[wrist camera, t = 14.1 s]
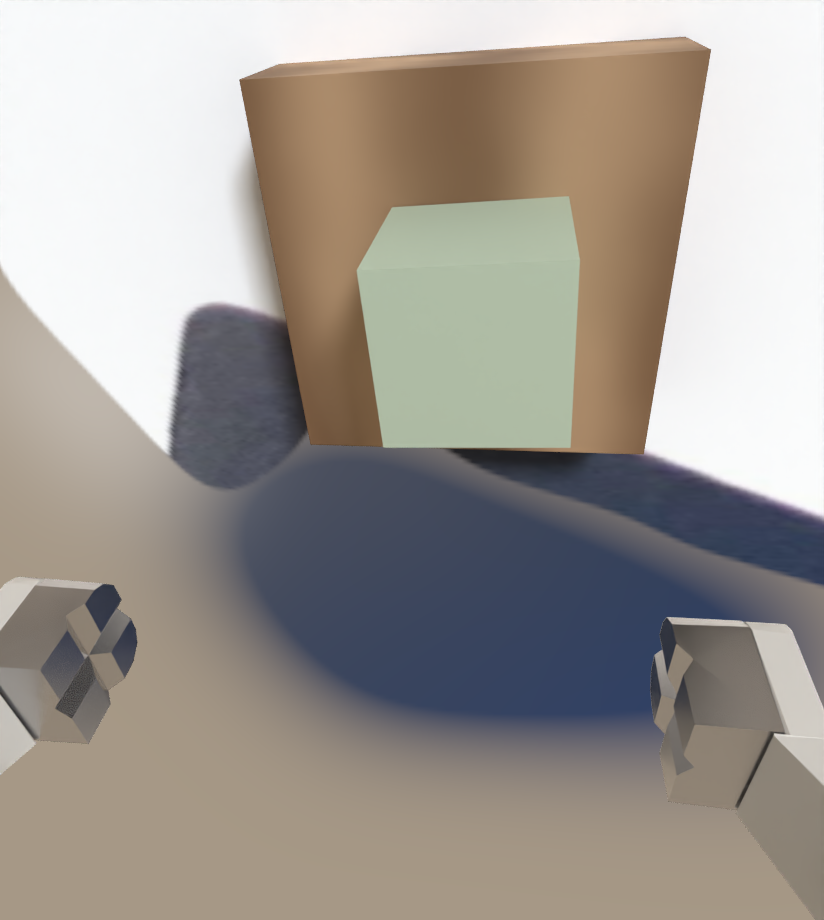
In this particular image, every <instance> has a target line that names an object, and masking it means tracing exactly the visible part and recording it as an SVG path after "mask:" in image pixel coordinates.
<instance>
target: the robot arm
mask: <svg viewBox="0 0 824 920" xmlns="http://www.w3.org/2000/svg"><path fill="white" fill-rule="evenodd" d="M120 602H121V598H120V596H119V594H118V592H117V591H116V589H115V587H114V585H109V584H100V583H89V582H78V581H66V580H56V579H43V578H29V577H16V578H14V579H12V580H11V581H9V582H7V583H5V585H4V586H3V587H2V588H1V590H0V775H1V774H2V773H3V772H4V771H5V770H6V769H7V768H9V767H10V766H11V765H12V764H13V763H14V762H16V761H17V760H18V759H19V758H20V757H21V756H23V755H24V754H25V753H26V752H27V751H28V750H30V749H31V748H32V747H33V746H34V745H35V744H36V741H35V740H38V741H39V740H40V741H53V742H67V743H82V744H89V742H90V740H91V738H92V737H93V735H94V733H95V731H96V729H97V728H98V726H99V724H100V722H101V720H102V718H103V717H104V715H105V713H106V711H107V709H108V708H109V706H110V697H109V691H108V690H109V689H111V688H112V687H113V686H115V685H116V684H117V683H119V682H120V681H122V680H123V679H124V678H125V677H126V675H127V673H128V671H129V669H130V667H131V665H132V663H133V661H134V656H135V651H136V647H137V636H136V629H135V627H134V624H133V622H132V620H131V618H129V617H128V616H127V615H125V614H124V613H123V612H121V611H120V610H118V609H117V607H118V606H119V604H120ZM660 639H661V645H662V650H661V651H660V652H658V653H657V654H655V655H654V659H653V664H652V669H651V687H650V691H651V703H652V710H653V716H654V722H655V724H656V725H657V726H658V727H659V728H660V729H661V730H662V731H663V733H664V734H665V736H664V739H663V743H662V747H661V750H660V758H661V764H662V770H663V775H664V780H665V786H666V792H667V797H668V802H675V803H683V804H691V805H699V806H707V807H715V808H723V809H731V810H737V812H736V814H737V816H738V817H739V819H740V820H741V821H742V822H743V824H744V825H745V827H746V828H747V829H748V831H749V832H750V833H751V835H752V836H753V837H754V839H755V840H756V841H757V843H758V844H759V845H760V847H761V848H762V849H763V851H764V852H765V853H766V855H767V856H768V857H769V859H770V860H771V861H772V863H773V864H774V865H775V867H776V868H777V869H778V871H779V872H780V873H781V875H782V876H783V877H784V879H785V880H786V881H787V883H788V884H789V885H790V887H791V888H792V889H793V891H794V892H795V893H796V895H797V896H798V897H799V899H800V900H801V901H802V903H803V904H804V905H805V906H806V908H807V909H808V911H809V912H810V913H811V915H812V916H813V917H814V919H815V920H824V709H823V706H822V704H821V701H820V699H819V696H818V694H817V691H816V689H815V686H814V684H813V681H812V679H811V677H810V674H809V671H808V669H807V667H806V664H805V662H804V659H803V657H802V654H801V652H800V649H799V647H798V644H797V642H796V639H795V637H794V634H793V632H792V631H791V629H790V628H789V627H788V626H787V625H786V624H773V623H756V622H742V621H733V620H713V619H692V618H672V617H671V618H670V617H668V618H666V619H665V620H664V622H663V624H662V628H661V631H660Z"/></svg>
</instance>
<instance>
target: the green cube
mask: <svg viewBox="0 0 824 920" xmlns="http://www.w3.org/2000/svg"><path fill="white" fill-rule="evenodd" d="M579 269H580V257H579V252H578V246H577V240H576V234H575V228H574V222H573V217H572V211H571V205H570V199H569V196H564V197H548V198H532V199H516V200H500V201H485V202H469V203H453V204H437V205H421V206H405V207H392V208H391V210H390V212H389V214H388V215H387V217H386V219H385V221H384V223H383V224H382V226H381V228H380V230H379V231H378V233H377V235H376V237H375V239H374V240H373V242H372V244H371V246H370V247H369V249H368V251H367V253H366V255H365V256H364V258H363V260H362V262H361V263H360V265H359V267H358V269H357V277H358V283H359V290H360V296H361V303H362V310H363V316H364V323H365V329H366V336H367V343H368V349H369V356H370V362H371V369H372V376H373V382H374V389H375V395H376V402H377V409H378V415H379V422H380V428H381V435H382V442H383V448H571V429H572V409H573V389H574V369H575V349H576V329H577V309H578V289H579Z"/></svg>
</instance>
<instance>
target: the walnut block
mask: <svg viewBox="0 0 824 920" xmlns="http://www.w3.org/2000/svg"><path fill="white" fill-rule="evenodd" d="M710 53H711V49H709V48H707V47H705V46H703V45H701V44H699V43H697V42H695V41H693V40H690V39H688V38H686V37H675V38H660V39H645V40H630V41H615V42H600V43H585V44H570V45H555V46H540V47H526V48H511V49H496V50H481V51H466V52H451V53H436V54H421V55H406V56H391V57H377V58H362V59H347V60H332V61H317V62H302V63H287V64H278V65H276V66H273V67H271V68H268V69H265V70H263V71H260V72H258V73H255V74H253V75H250V76H248V77H245V78H242V79H240V80H239V81H240V86H241V91H242V96H243V101H244V106H245V111H246V116H247V121H248V127H249V132H250V137H251V142H252V147H253V152H254V157H255V162H256V168H257V173H258V178H259V183H260V188H261V193H262V198H263V203H264V209H265V214H266V219H267V224H268V229H269V234H270V239H271V244H272V250H273V255H274V260H275V265H276V270H277V275H278V280H279V285H280V291H281V296H282V301H283V306H284V311H285V316H286V321H287V326H288V331H289V337H290V342H291V347H292V352H293V357H294V362H295V367H296V372H297V378H298V383H299V388H300V393H301V398H302V403H303V408H304V413H305V419H306V424H307V429H308V434H309V439H310V444H311V445H344V446H378V447H381V446H382V447H383V442H382V435H381V428H380V422H379V415H378V409H377V402H376V395H375V389H374V382H373V376H372V369H371V362H370V356H369V349H368V343H367V336H366V329H365V323H364V316H363V310H362V303H361V296H360V290H359V283H358V277H357V269H358V267H359V265H360V263H361V262H362V260H363V258H364V256H365V255H366V253H367V251H368V249H369V247H370V246H371V244H372V242H373V240H374V239H375V237H376V235H377V233H378V231H379V230H380V228H381V226H382V224H383V223H384V221H385V219H386V217H387V215H388V214H389V212H390V210H391V208H392V207H405V206H421V205H437V204H453V203H469V202H485V201H500V200H516V199H532V198H548V197H564V196H569V199H570V205H571V211H572V217H573V222H574V228H575V234H576V240H577V246H578V252H579V257H580V269H579V289H578V309H577V329H576V349H575V369H574V389H573V409H572V429H571V448H446V449H480V450H514V451H548V452H582V453H616V454H644V449H645V443H646V437H647V431H648V425H649V419H650V413H651V407H652V401H653V395H654V389H655V383H656V377H657V371H658V365H659V359H660V353H661V347H662V341H663V335H664V329H665V323H666V317H667V311H668V305H669V299H670V293H671V287H672V281H673V275H674V269H675V263H676V257H677V251H678V245H679V239H680V233H681V227H682V221H683V215H684V209H685V203H686V197H687V191H688V185H689V179H690V173H691V167H692V161H693V155H694V149H695V143H696V137H697V131H698V125H699V119H700V113H701V107H702V101H703V95H704V89H705V83H706V77H707V71H708V65H709V59H710Z"/></svg>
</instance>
